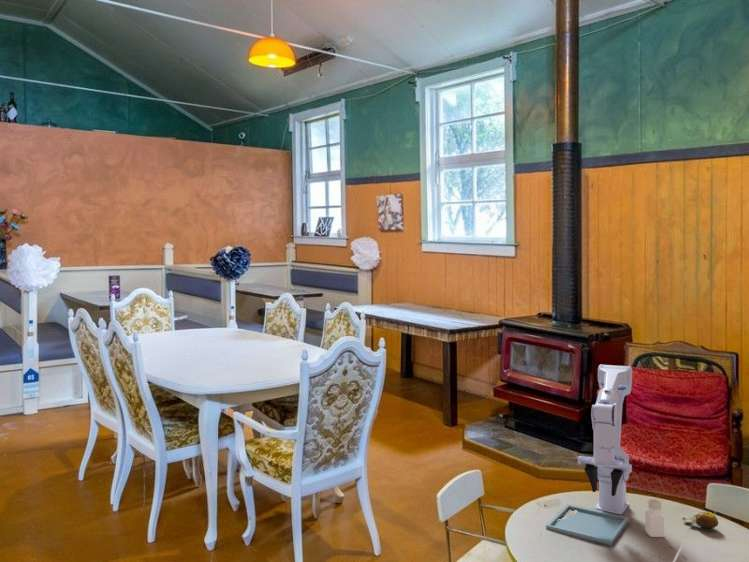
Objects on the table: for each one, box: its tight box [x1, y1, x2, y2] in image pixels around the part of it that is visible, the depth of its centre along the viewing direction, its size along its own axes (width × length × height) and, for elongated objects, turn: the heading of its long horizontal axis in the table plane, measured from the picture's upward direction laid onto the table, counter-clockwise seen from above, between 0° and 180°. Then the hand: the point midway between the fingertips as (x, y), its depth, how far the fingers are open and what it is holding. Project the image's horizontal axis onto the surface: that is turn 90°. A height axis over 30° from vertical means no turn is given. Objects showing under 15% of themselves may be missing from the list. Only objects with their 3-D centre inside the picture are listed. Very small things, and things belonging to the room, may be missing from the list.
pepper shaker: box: [644, 498, 665, 538], centre depth 177 cm, size 4×4×10 cm
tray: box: [545, 504, 629, 547], centre depth 183 cm, size 18×18×2 cm
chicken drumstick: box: [682, 511, 719, 530], centre depth 183 cm, size 8×8×4 cm
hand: (604, 492), depth 181 cm, fingers open, 5 cm apart
